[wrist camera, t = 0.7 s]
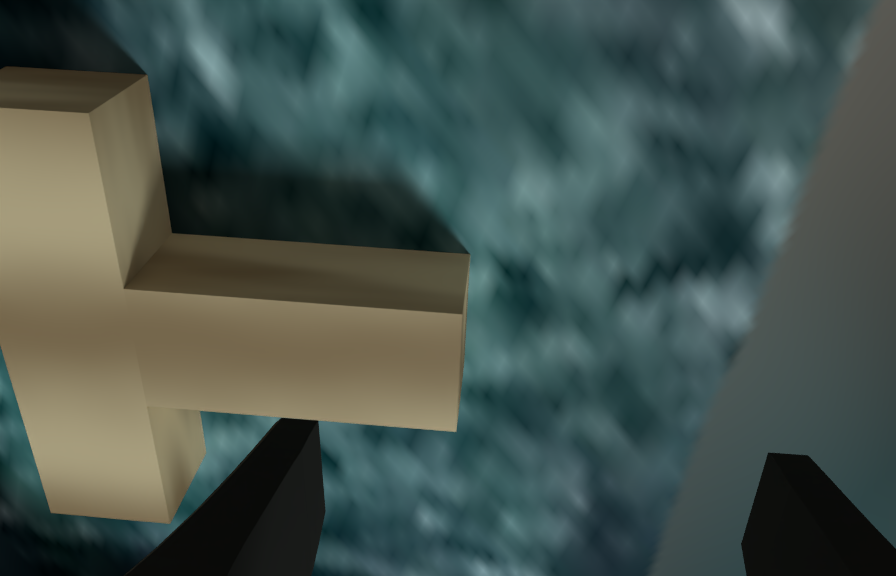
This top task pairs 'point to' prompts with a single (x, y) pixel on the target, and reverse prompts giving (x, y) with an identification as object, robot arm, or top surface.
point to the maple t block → (185, 309)
